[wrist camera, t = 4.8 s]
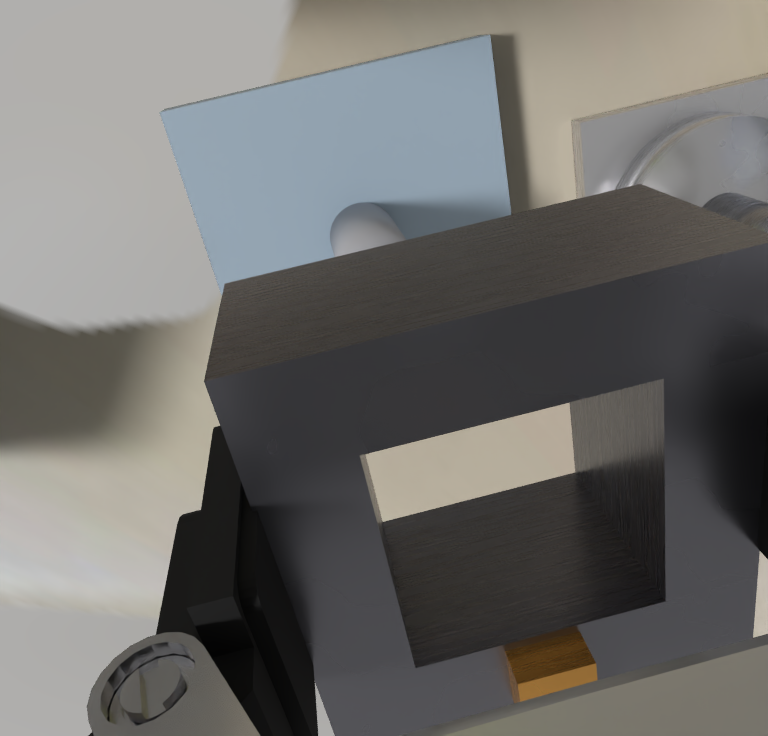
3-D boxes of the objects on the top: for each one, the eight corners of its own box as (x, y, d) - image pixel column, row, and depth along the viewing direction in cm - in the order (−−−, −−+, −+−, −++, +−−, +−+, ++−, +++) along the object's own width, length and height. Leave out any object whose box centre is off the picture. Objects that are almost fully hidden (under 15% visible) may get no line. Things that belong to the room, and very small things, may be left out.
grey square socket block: (224, 283, 11) (198, 406, 7) (639, 183, 11) (820, 253, 7) (326, 595, 14) (345, 791, 10) (647, 511, 14) (776, 673, 11)
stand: (164, 108, 23) (131, 129, 17) (480, 35, 23) (542, 32, 18) (258, 388, 28) (255, 471, 22) (516, 323, 28) (573, 389, 23)
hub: (571, 120, 25) (661, 143, 19) (802, 65, 25) (957, 71, 19) (586, 337, 29) (664, 410, 23) (785, 287, 29) (909, 346, 23)
